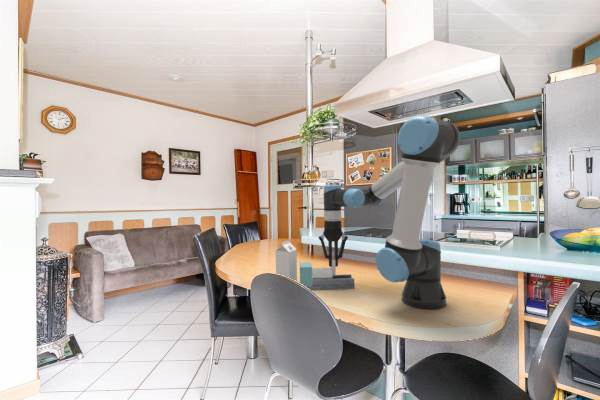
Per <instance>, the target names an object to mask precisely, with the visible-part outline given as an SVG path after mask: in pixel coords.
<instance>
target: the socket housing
mask: <svg viewBox="0 0 600 400" xmlns="http://www.w3.org/2000/svg"><path fill="white" fill-rule="evenodd" d="M312 268H313V266H312V262H310V261H309V262H307V261H306V262H299V284H300V283H301V284H303V285H304V286H306V287H312Z"/></svg>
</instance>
